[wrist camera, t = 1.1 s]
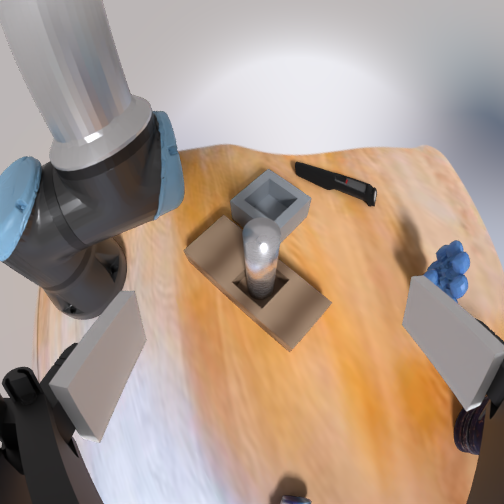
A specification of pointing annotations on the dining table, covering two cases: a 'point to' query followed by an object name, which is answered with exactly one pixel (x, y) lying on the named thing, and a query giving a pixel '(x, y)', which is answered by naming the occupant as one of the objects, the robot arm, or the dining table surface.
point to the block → (271, 203)
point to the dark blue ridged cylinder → (470, 429)
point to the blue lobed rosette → (450, 270)
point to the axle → (261, 255)
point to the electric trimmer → (337, 182)
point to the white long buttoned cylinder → (295, 500)
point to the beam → (235, 287)
